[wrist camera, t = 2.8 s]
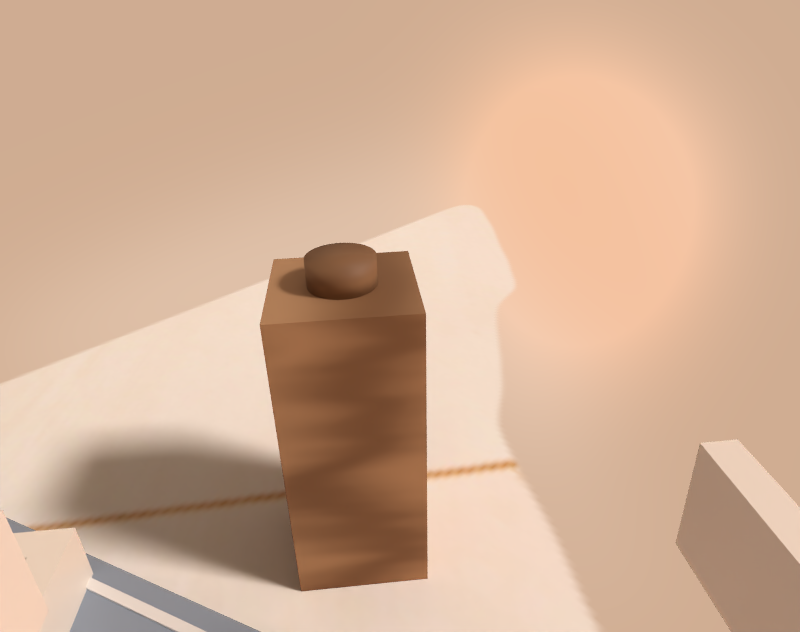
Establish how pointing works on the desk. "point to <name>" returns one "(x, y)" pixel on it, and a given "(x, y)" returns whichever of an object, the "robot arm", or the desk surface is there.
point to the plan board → (138, 604)
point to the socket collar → (57, 573)
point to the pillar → (350, 412)
